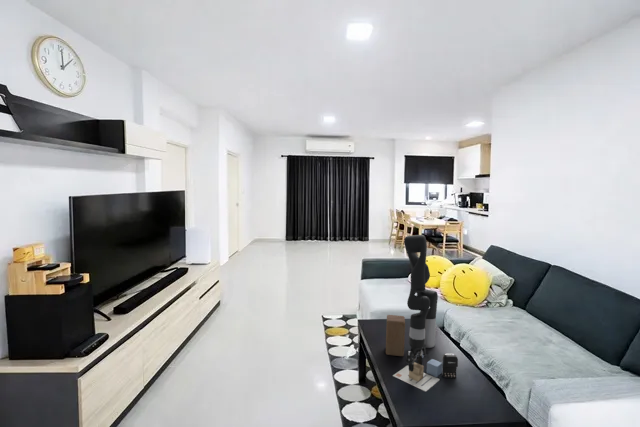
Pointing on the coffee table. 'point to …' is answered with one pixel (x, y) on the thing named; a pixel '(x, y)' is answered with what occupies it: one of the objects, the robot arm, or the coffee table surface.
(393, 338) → the wooden block
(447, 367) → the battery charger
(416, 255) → the robot arm
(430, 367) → the blue cube
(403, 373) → the letter
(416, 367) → the oak block
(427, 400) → the coffee table surface
